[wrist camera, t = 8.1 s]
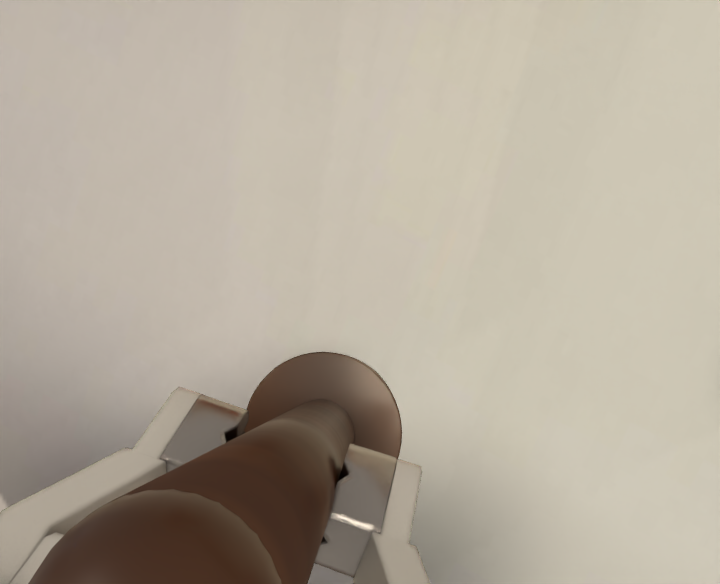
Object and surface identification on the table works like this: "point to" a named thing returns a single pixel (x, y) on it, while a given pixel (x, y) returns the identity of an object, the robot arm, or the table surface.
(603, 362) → the table surface
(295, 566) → the wooden tamper
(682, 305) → the table surface
